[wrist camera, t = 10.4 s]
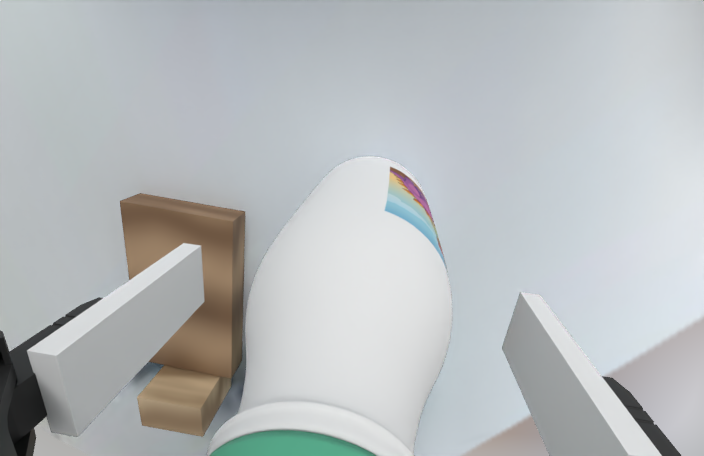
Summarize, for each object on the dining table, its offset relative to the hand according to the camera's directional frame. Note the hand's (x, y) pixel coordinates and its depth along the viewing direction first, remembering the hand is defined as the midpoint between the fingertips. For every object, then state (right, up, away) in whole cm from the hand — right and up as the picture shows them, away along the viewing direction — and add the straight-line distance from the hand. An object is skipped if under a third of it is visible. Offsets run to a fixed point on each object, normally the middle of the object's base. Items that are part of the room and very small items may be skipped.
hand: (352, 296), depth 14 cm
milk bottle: (+1, +4, +10) cm, 11 cm away
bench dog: (-13, -10, +17) cm, 24 cm away
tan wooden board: (-13, -2, +14) cm, 19 cm away
